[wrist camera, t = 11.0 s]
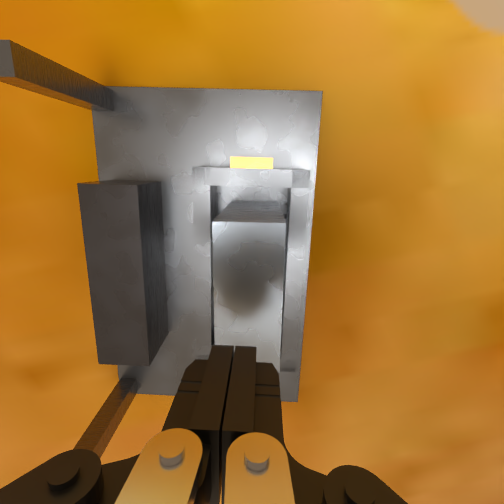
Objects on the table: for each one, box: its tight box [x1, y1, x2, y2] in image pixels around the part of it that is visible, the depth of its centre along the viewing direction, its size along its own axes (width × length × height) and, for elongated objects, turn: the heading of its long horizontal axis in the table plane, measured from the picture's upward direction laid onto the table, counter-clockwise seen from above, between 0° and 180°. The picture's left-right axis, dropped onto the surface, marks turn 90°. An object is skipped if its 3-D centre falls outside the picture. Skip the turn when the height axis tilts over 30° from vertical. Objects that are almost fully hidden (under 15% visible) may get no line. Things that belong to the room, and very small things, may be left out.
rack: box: [0, 40, 323, 458], centre depth 18 cm, size 14×22×9 cm, turn 178°
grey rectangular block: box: [212, 200, 286, 373], centre depth 18 cm, size 3×9×8 cm, turn 179°
